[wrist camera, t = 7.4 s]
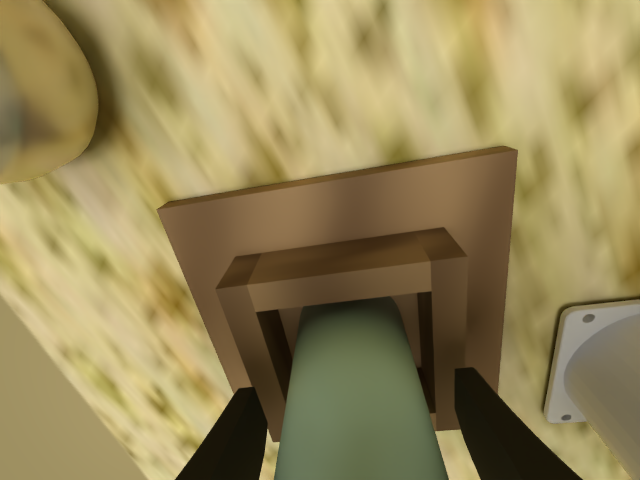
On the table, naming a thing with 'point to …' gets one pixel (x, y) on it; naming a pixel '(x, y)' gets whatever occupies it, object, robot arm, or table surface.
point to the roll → (356, 399)
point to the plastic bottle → (41, 92)
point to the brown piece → (355, 266)
